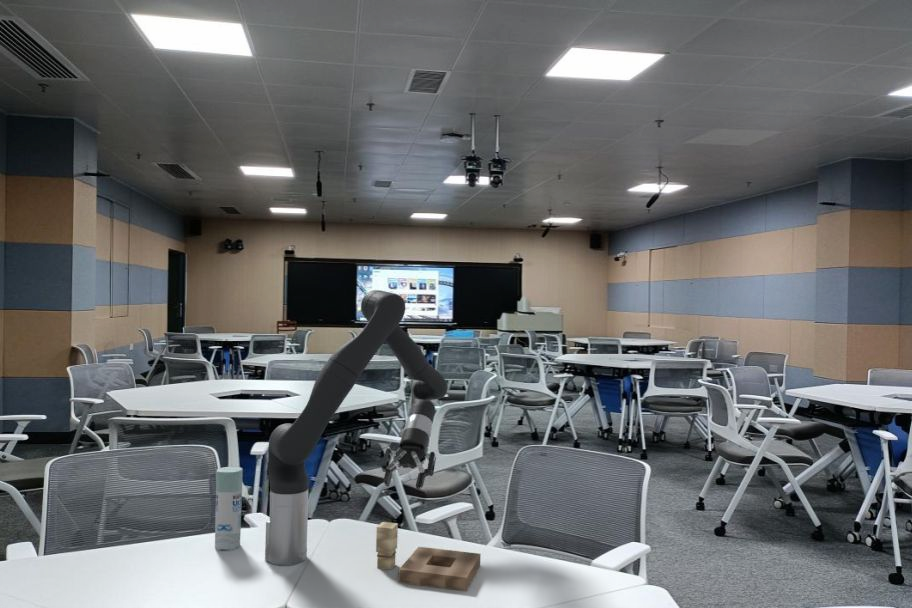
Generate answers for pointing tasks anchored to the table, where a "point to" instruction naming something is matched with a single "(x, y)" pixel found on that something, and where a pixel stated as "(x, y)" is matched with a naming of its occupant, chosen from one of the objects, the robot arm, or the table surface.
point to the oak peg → (386, 544)
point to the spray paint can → (228, 508)
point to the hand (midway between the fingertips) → (402, 486)
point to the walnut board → (440, 568)
